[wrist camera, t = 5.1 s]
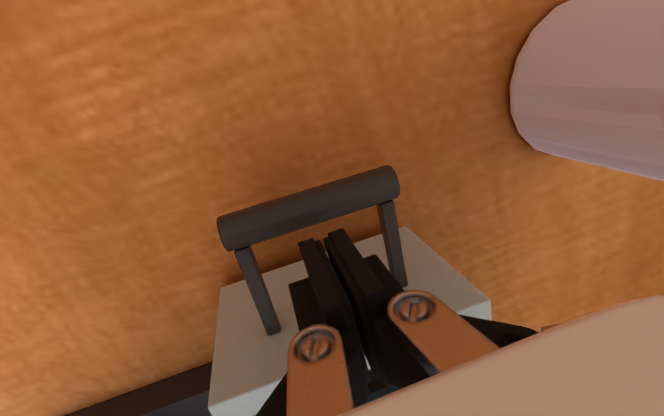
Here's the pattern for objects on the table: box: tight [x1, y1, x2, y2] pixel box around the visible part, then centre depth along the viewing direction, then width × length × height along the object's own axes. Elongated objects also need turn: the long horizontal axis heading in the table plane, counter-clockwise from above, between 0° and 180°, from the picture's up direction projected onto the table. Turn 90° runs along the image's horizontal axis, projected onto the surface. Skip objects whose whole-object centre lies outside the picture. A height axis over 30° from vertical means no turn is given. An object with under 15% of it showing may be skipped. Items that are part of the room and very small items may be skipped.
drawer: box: [208, 165, 492, 416], centre depth 18 cm, size 19×11×8 cm, turn 13°
